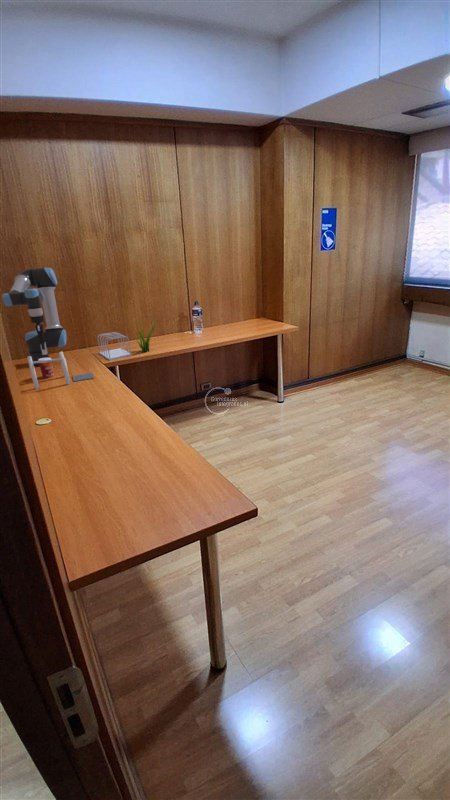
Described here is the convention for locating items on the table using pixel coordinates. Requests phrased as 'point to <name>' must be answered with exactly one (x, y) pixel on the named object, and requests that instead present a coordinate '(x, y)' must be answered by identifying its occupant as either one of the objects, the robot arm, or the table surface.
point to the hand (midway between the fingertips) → (45, 353)
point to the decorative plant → (145, 343)
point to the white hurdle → (62, 359)
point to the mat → (83, 377)
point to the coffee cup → (46, 368)
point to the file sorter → (115, 352)
